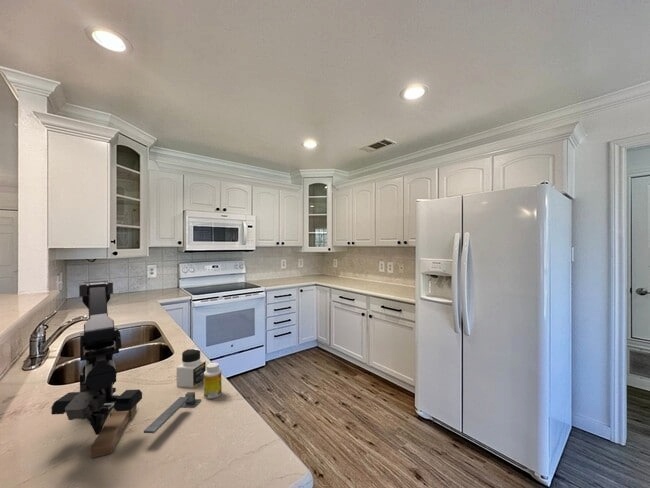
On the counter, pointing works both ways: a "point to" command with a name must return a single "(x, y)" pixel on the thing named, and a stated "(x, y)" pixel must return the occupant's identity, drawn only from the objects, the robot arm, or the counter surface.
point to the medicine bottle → (191, 369)
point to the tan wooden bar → (111, 432)
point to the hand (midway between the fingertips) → (98, 433)
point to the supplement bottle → (212, 381)
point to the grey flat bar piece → (173, 411)
